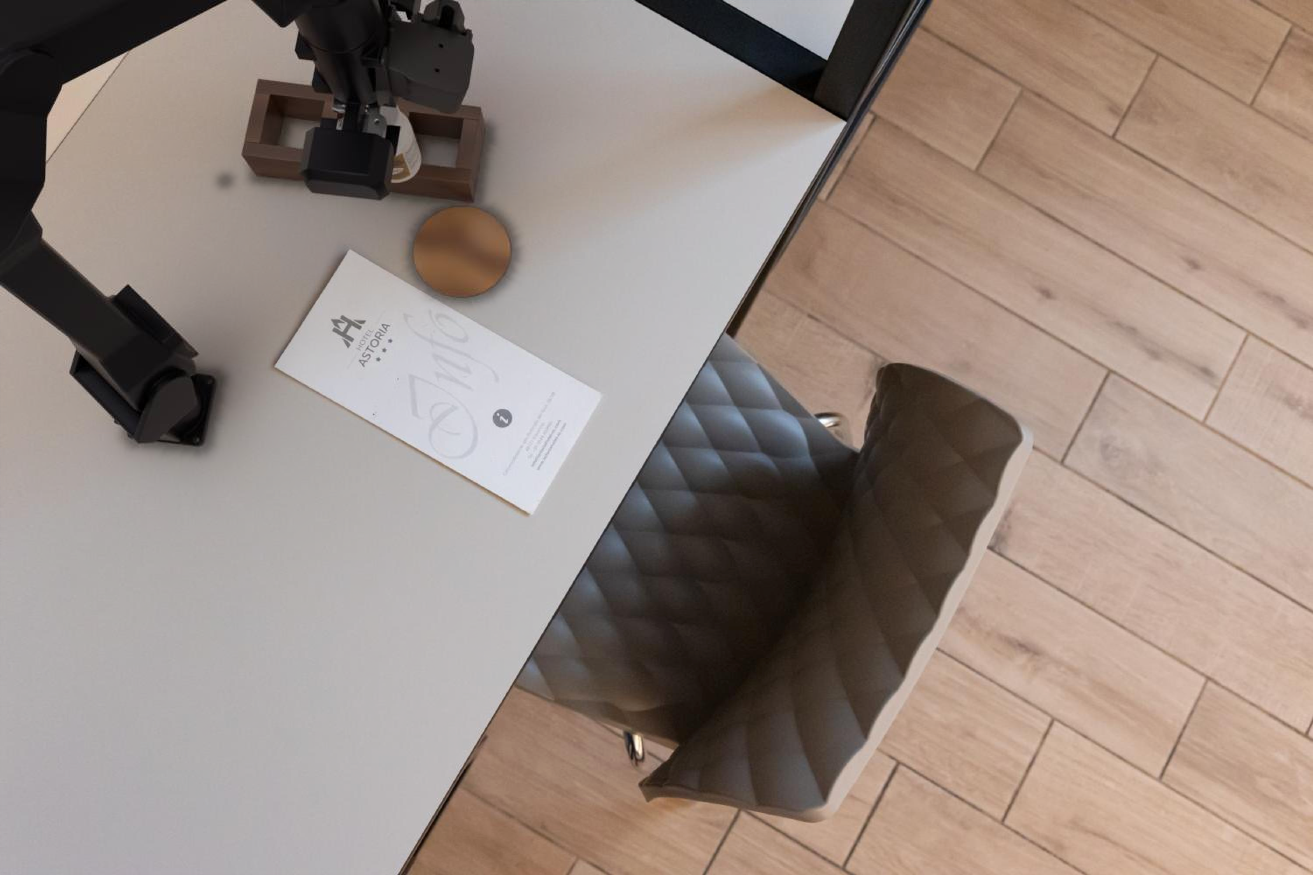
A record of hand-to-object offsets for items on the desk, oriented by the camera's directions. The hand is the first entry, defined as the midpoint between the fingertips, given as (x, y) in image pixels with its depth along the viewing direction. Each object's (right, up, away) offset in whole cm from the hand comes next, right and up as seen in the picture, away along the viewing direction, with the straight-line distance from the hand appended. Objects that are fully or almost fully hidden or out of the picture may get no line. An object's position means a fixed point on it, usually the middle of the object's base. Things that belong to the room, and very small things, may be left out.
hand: (385, 135), depth 82 cm
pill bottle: (0, -1, +5) cm, 5 cm away
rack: (-5, +2, +12) cm, 13 cm away
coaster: (+4, -8, +10) cm, 14 cm away
